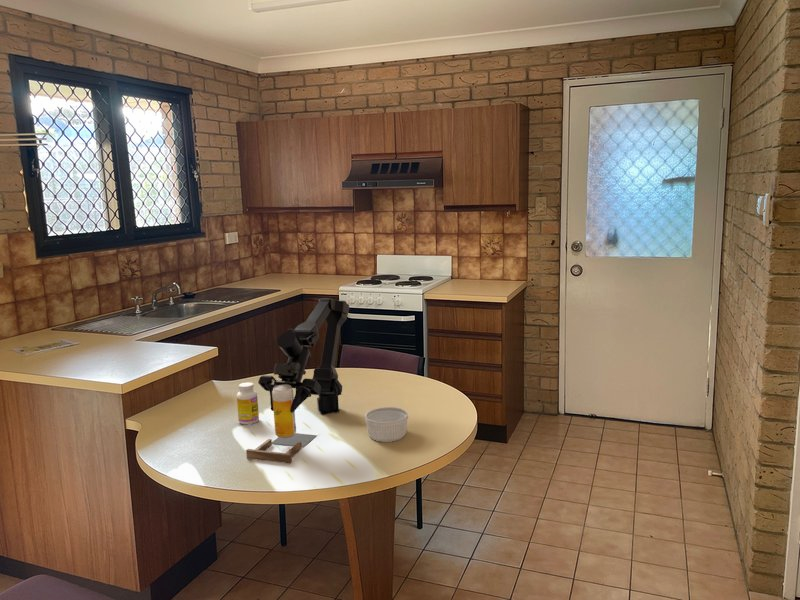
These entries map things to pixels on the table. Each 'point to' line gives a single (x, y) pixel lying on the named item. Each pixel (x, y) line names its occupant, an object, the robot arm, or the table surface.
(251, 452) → the frame
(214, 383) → the table surface
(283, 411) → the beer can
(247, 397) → the supplement bottle
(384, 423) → the ramekin
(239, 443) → the table surface
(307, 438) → the mat
